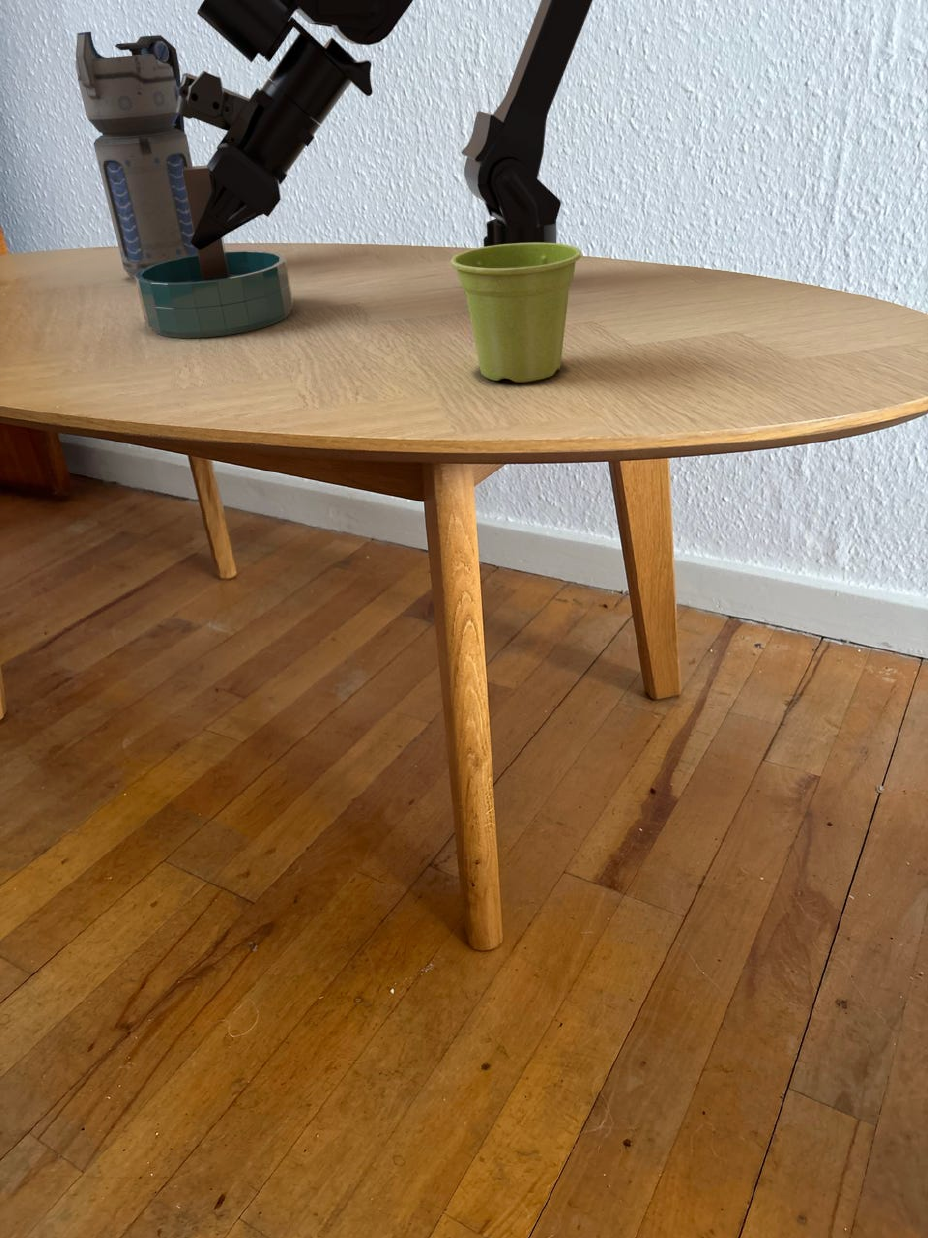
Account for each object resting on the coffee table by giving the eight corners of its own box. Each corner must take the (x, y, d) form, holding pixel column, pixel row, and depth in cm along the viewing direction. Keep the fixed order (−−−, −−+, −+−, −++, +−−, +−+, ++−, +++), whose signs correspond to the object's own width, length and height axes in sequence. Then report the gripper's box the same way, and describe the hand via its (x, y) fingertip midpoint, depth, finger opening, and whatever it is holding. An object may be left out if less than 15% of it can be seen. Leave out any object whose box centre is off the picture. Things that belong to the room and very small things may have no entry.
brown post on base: (249, 303, 97) (225, 162, 90) (248, 316, 92) (222, 168, 86) (199, 308, 96) (171, 166, 89) (195, 321, 92) (165, 172, 85)
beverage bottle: (243, 262, 118) (200, 24, 105) (166, 287, 109) (108, 29, 95) (182, 259, 123) (134, 30, 110) (103, 283, 113) (40, 35, 100)
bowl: (321, 304, 97) (314, 252, 94) (230, 344, 87) (219, 286, 84) (214, 296, 103) (204, 247, 100) (116, 333, 93) (103, 279, 90)
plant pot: (441, 367, 76) (431, 253, 72) (546, 346, 79) (543, 235, 75) (490, 400, 69) (483, 275, 64) (604, 376, 72) (605, 254, 67)
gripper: (223, 32, 90) (132, 171, 95) (211, 32, 75) (103, 198, 79) (318, 119, 95) (228, 247, 100) (326, 136, 80) (218, 286, 84)
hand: (195, 243), depth 91 cm, fingers closed on brown post on base, 2 cm apart
